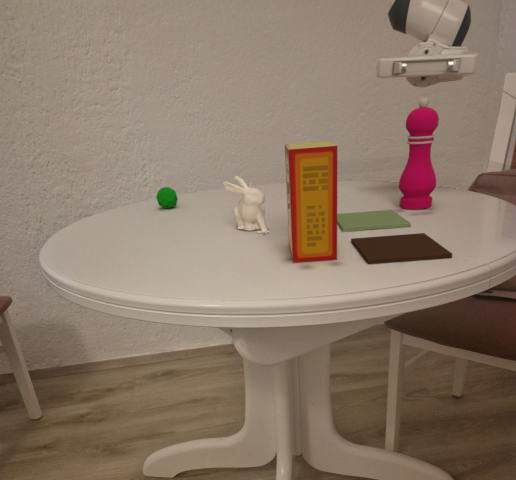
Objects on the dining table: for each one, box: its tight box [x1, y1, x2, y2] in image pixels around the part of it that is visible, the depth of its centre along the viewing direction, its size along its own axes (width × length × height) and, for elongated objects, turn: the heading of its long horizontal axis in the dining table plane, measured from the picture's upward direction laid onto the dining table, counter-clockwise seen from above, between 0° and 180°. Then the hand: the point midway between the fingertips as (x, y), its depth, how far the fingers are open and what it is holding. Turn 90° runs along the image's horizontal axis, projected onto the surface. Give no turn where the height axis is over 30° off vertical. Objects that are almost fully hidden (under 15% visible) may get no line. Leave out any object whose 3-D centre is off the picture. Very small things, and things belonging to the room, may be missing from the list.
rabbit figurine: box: [222, 175, 270, 235], centre depth 90 cm, size 12×8×10 cm, turn 5°
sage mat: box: [337, 209, 412, 233], centre depth 90 cm, size 12×12×1 cm
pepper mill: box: [398, 97, 440, 210], centre depth 95 cm, size 7×7×20 cm
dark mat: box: [350, 232, 453, 265], centre depth 73 cm, size 12×12×1 cm
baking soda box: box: [284, 140, 338, 264], centre depth 72 cm, size 10×6×16 cm
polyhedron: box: [156, 186, 179, 210], centre depth 116 cm, size 5×5×5 cm
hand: (426, 67), depth 97 cm, fingers open, 8 cm apart
